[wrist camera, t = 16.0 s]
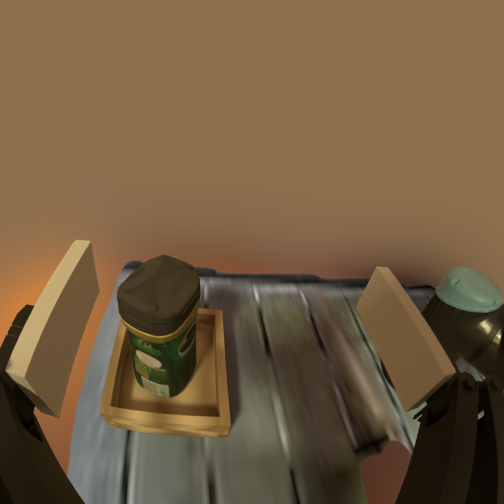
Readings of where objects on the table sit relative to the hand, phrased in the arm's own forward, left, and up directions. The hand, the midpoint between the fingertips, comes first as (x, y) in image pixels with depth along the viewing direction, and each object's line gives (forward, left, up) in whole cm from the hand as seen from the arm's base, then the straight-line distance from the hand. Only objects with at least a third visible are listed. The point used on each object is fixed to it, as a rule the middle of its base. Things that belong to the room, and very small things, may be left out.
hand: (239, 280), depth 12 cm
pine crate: (+5, -13, -30) cm, 33 cm away
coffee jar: (+5, -13, -29) cm, 32 cm away
